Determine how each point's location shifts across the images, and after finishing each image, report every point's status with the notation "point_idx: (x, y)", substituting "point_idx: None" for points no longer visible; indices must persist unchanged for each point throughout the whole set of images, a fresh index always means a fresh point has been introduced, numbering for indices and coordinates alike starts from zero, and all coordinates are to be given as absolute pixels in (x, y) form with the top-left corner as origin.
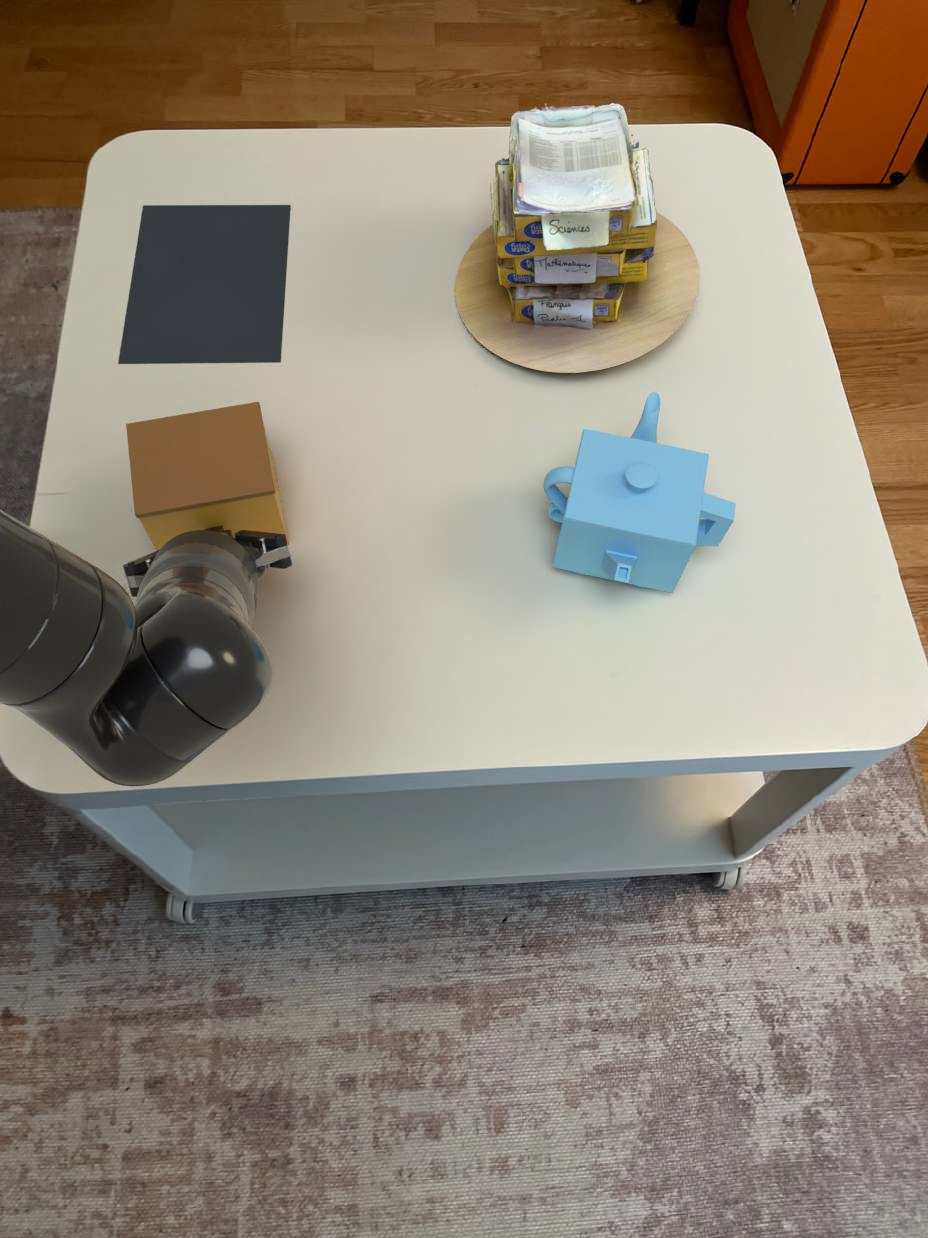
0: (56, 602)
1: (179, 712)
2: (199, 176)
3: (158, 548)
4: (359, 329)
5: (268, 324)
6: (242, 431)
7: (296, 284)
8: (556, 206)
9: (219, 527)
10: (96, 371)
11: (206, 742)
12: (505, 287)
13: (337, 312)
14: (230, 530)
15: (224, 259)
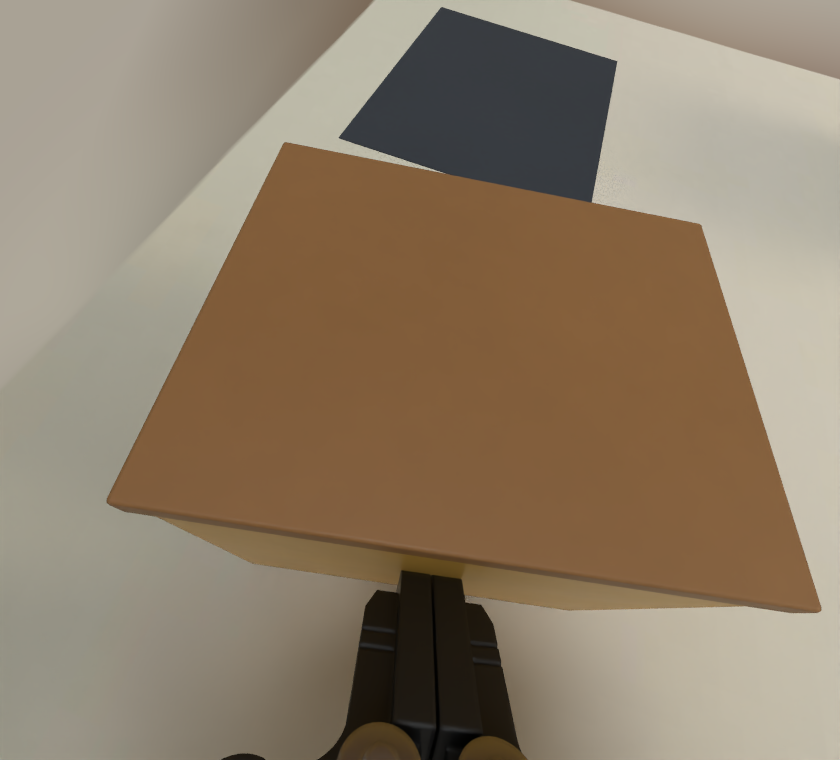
0: None
1: None
2: (513, 7)
3: (232, 551)
4: (712, 218)
5: (575, 166)
6: (656, 292)
7: (619, 136)
8: None
9: (456, 601)
10: (301, 136)
11: None
12: None
13: (677, 186)
14: (491, 626)
15: (526, 81)
